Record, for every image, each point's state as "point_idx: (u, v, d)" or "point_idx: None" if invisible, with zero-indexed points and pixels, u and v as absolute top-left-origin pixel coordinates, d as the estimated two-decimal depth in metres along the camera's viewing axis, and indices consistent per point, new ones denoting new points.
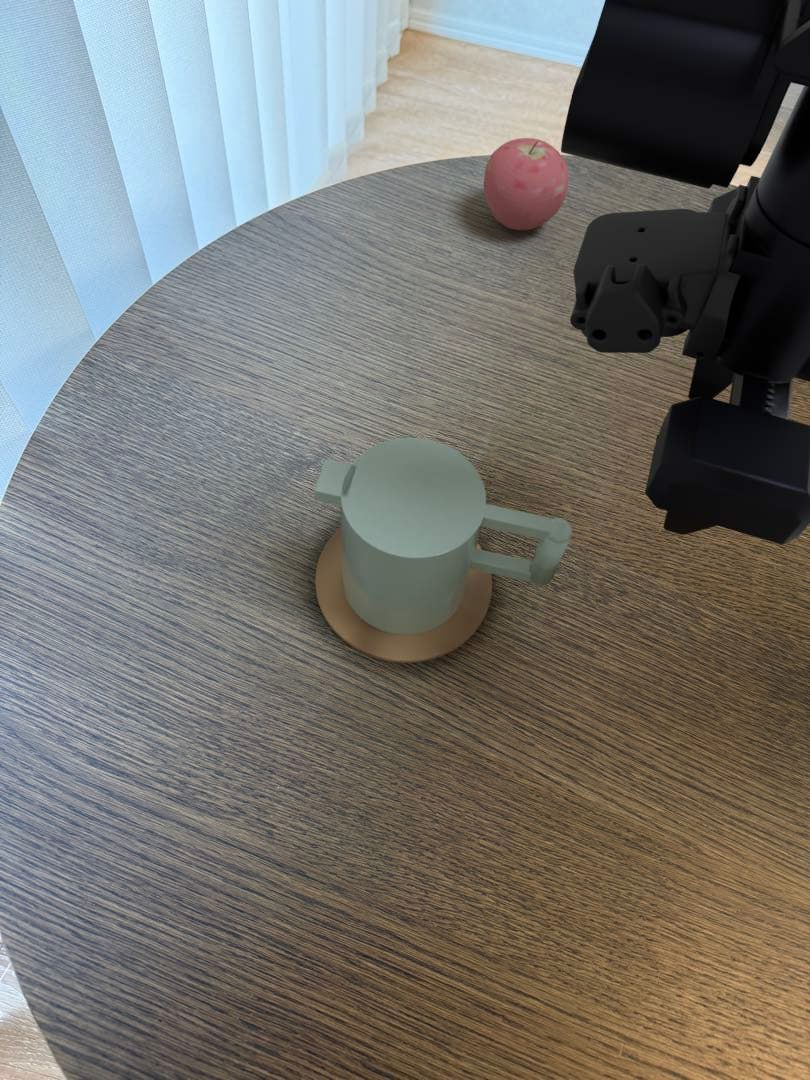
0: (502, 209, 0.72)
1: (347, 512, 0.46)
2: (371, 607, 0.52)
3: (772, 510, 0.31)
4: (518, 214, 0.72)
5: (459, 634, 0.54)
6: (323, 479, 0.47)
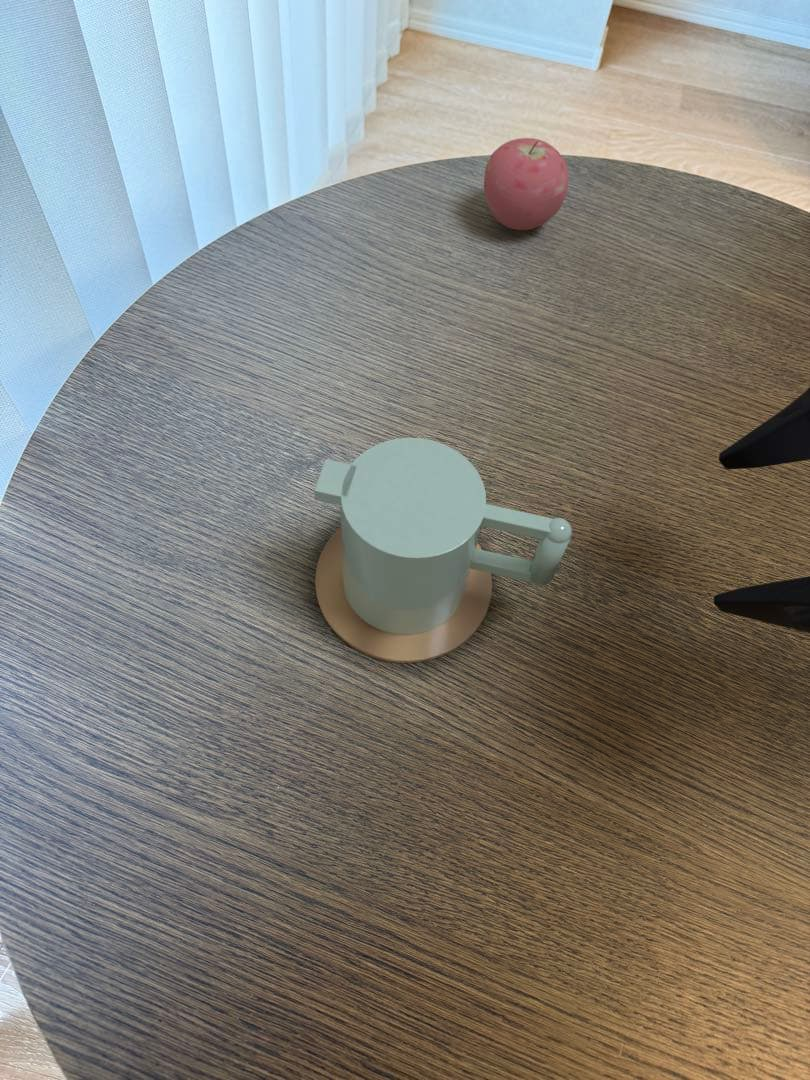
0: (502, 209, 0.72)
1: (347, 512, 0.46)
2: (371, 607, 0.52)
3: None
4: (518, 214, 0.72)
5: (459, 634, 0.54)
6: (323, 479, 0.47)
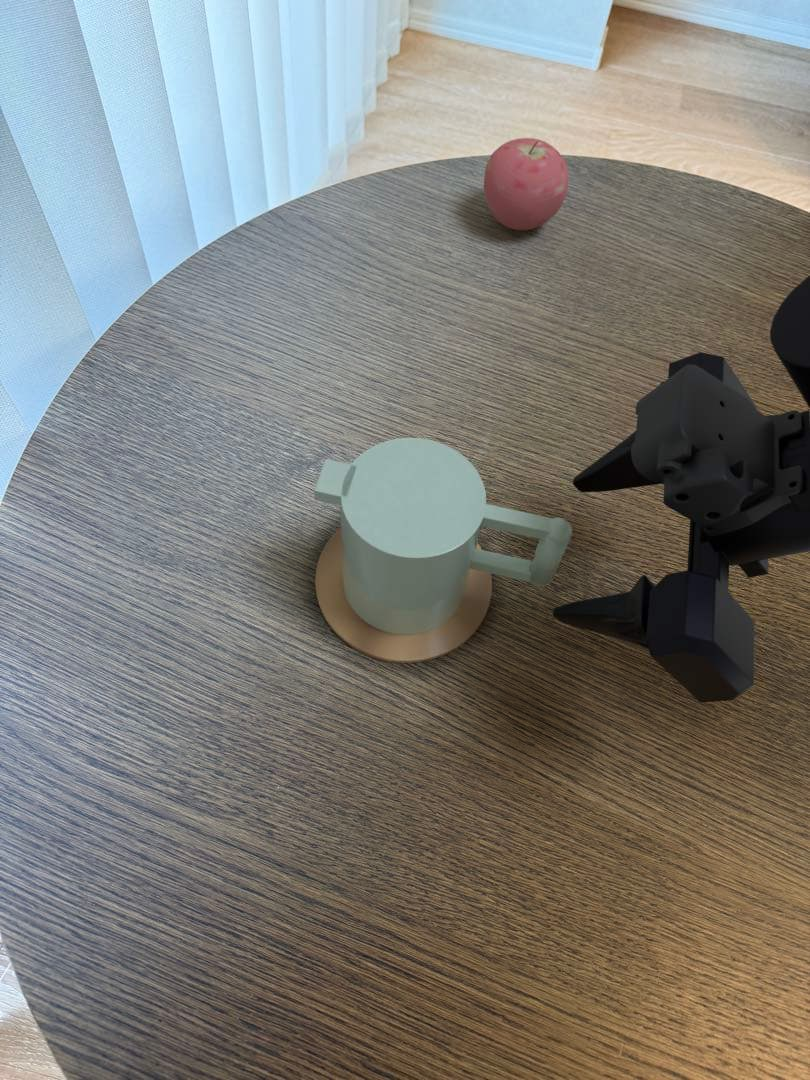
0: (502, 209, 0.72)
1: (347, 512, 0.46)
2: (371, 607, 0.52)
3: (726, 688, 0.38)
4: (518, 214, 0.72)
5: (459, 634, 0.54)
6: (323, 479, 0.47)
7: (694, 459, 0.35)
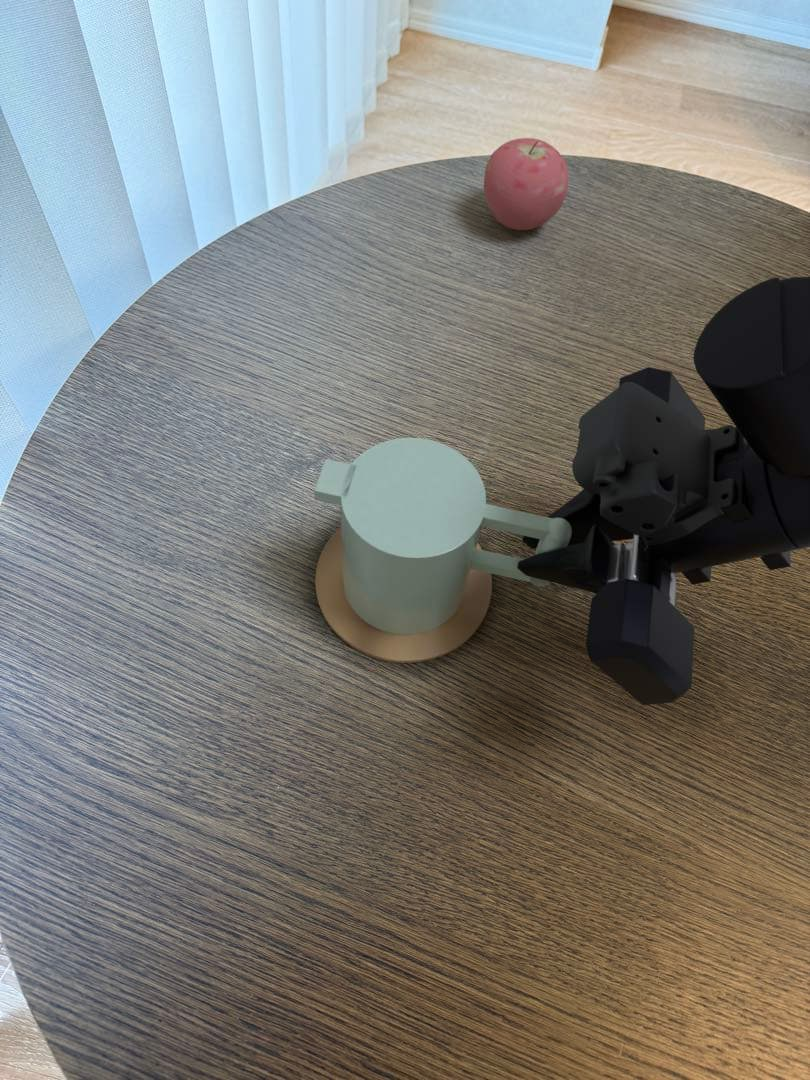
0: (502, 209, 0.72)
1: (347, 512, 0.46)
2: (371, 607, 0.52)
3: (664, 692, 0.40)
4: (518, 214, 0.72)
5: (459, 634, 0.54)
6: (323, 479, 0.47)
7: (628, 473, 0.37)
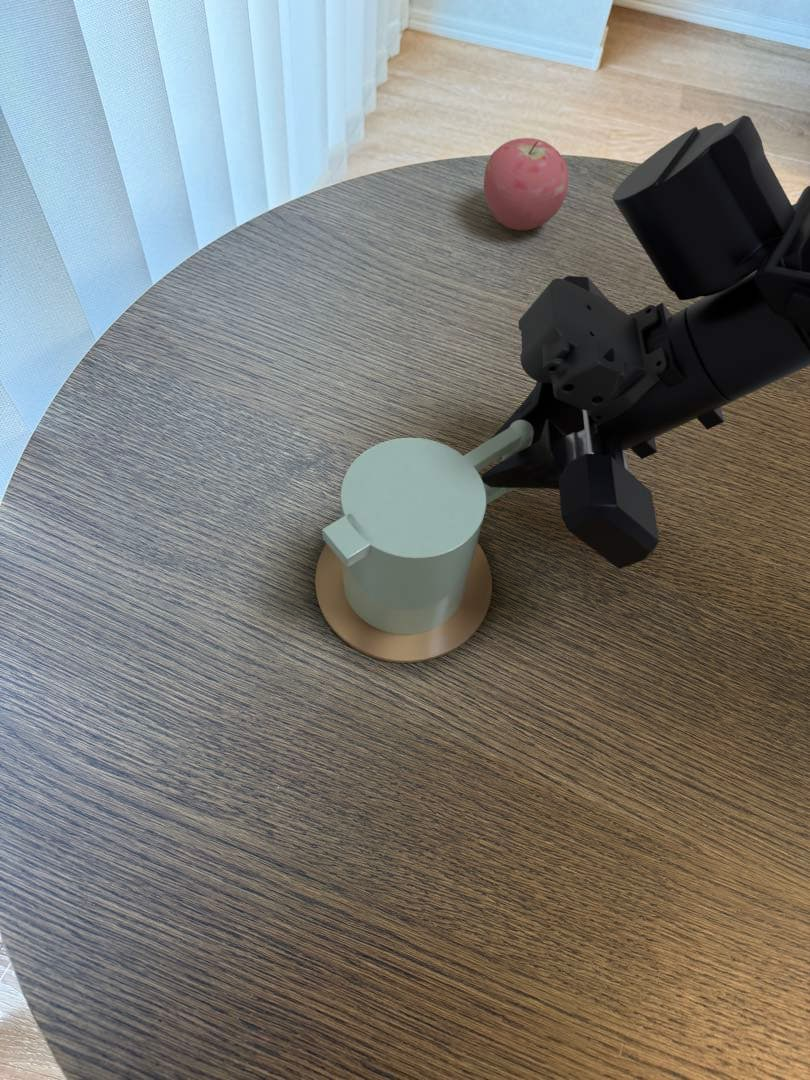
0: (502, 209, 0.72)
1: (390, 550, 0.45)
2: (428, 614, 0.52)
3: (637, 549, 0.44)
4: (518, 214, 0.72)
5: (459, 634, 0.54)
6: (341, 544, 0.45)
7: (572, 353, 0.41)
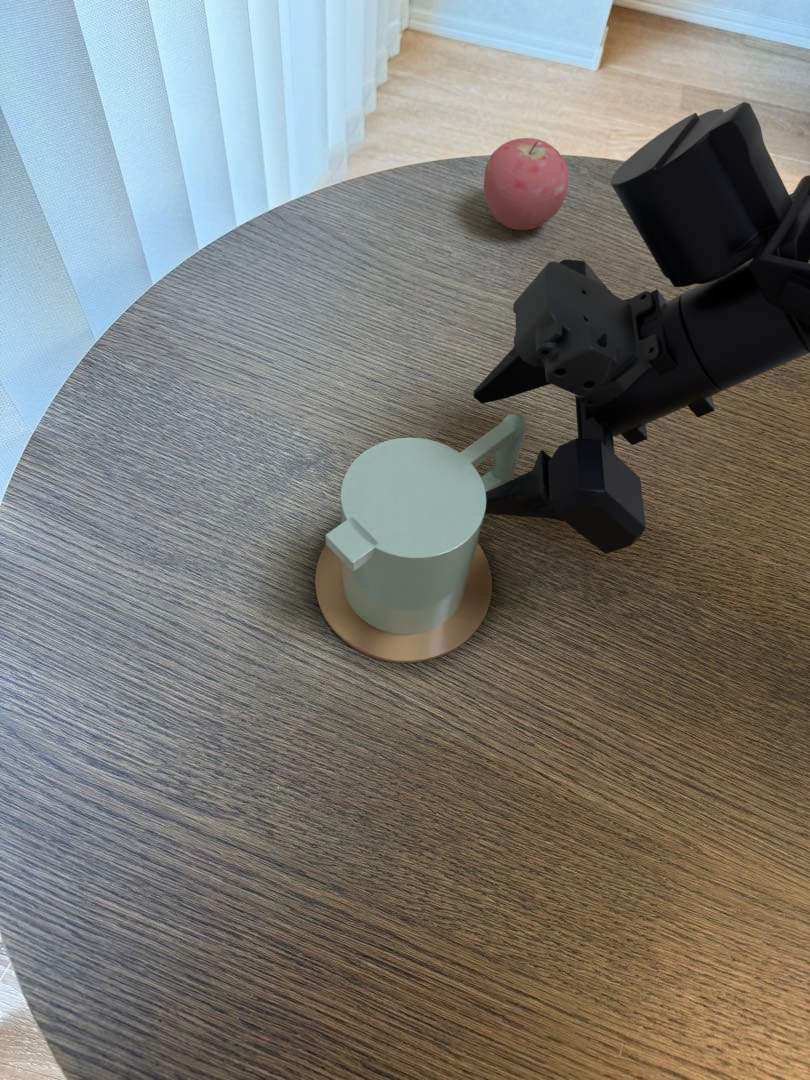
0: (502, 209, 0.72)
1: (395, 552, 0.45)
2: (432, 613, 0.52)
3: (623, 535, 0.45)
4: (518, 214, 0.72)
5: (459, 634, 0.54)
6: (346, 549, 0.45)
7: (565, 338, 0.41)
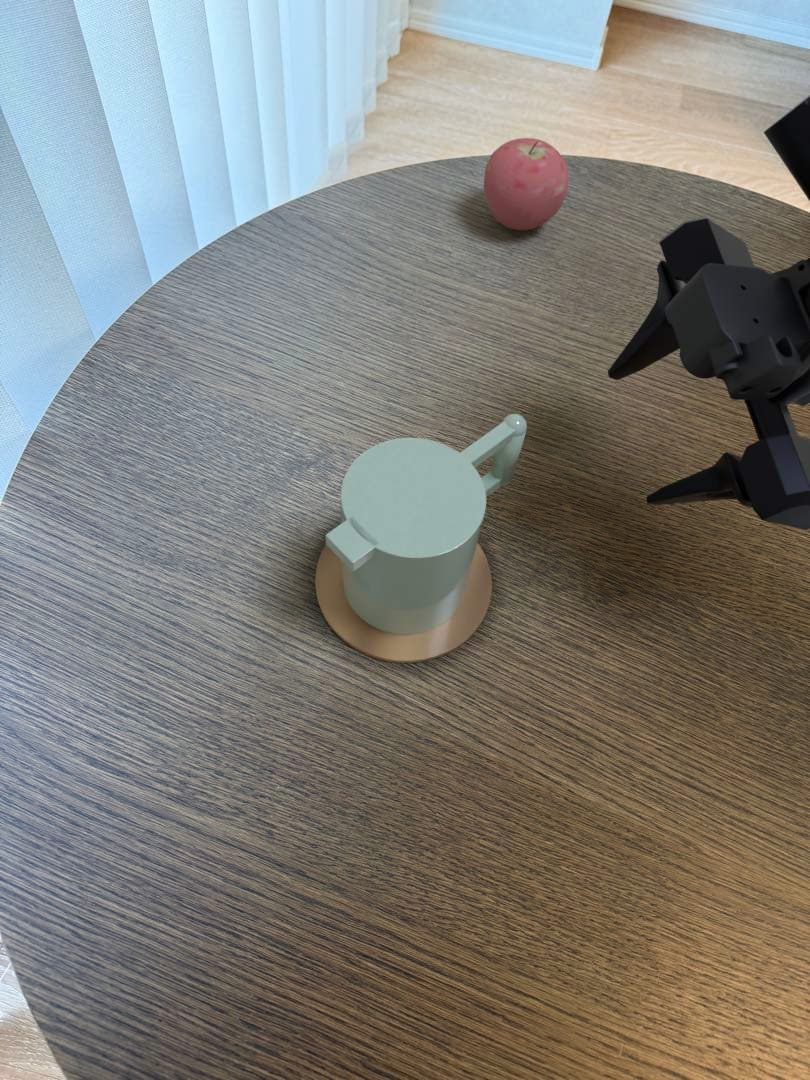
0: (502, 209, 0.72)
1: (395, 552, 0.45)
2: (432, 613, 0.52)
3: None
4: (518, 214, 0.72)
5: (459, 634, 0.54)
6: (346, 549, 0.45)
7: (745, 354, 0.40)
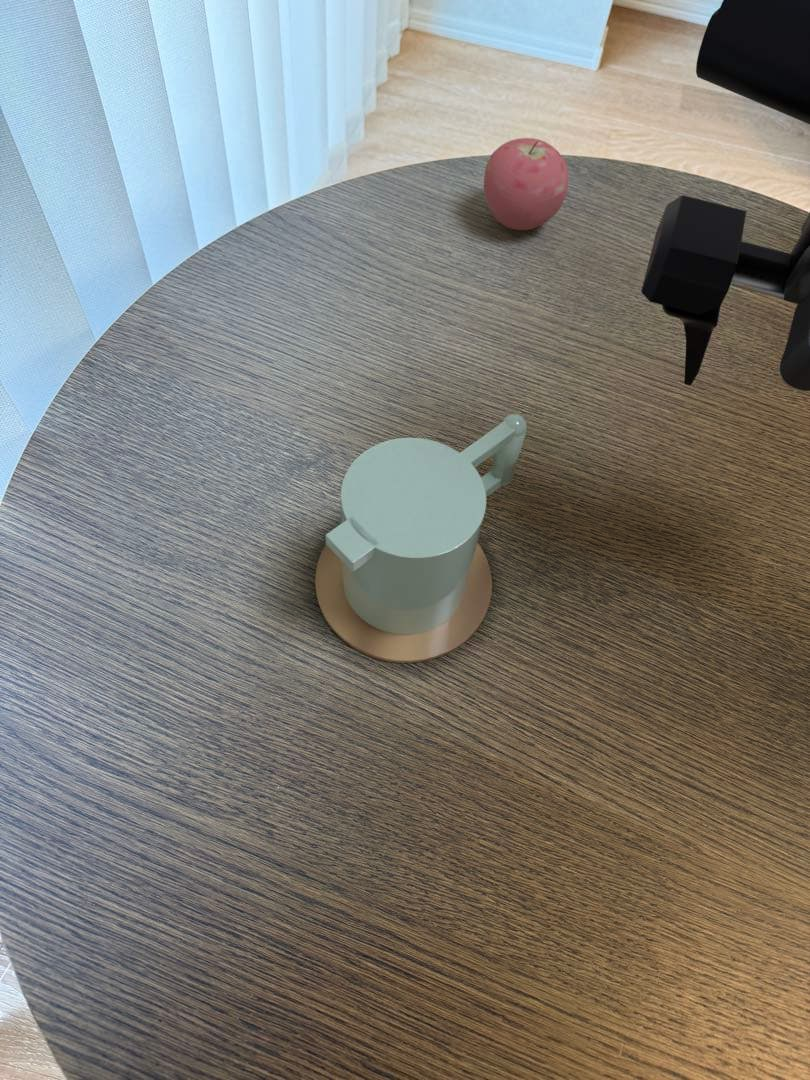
0: (502, 209, 0.72)
1: (395, 552, 0.45)
2: (432, 613, 0.52)
3: None
4: (518, 214, 0.72)
5: (459, 634, 0.54)
6: (346, 549, 0.45)
7: None
